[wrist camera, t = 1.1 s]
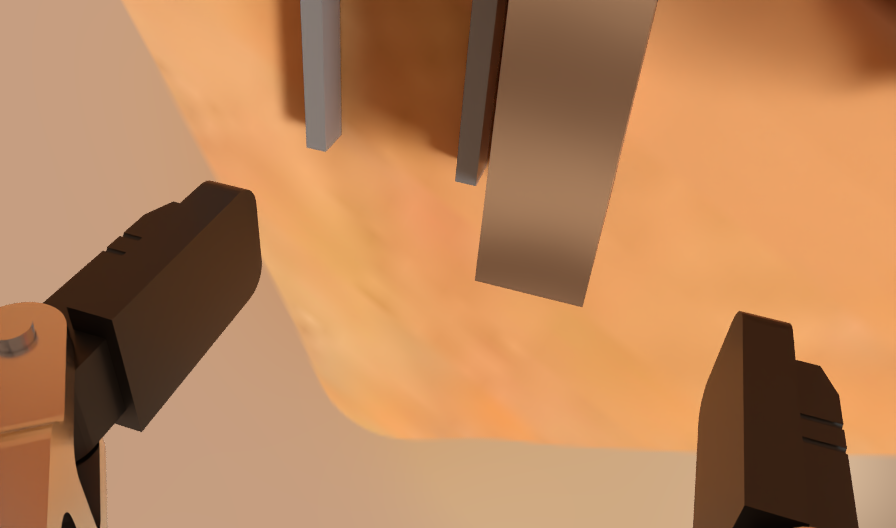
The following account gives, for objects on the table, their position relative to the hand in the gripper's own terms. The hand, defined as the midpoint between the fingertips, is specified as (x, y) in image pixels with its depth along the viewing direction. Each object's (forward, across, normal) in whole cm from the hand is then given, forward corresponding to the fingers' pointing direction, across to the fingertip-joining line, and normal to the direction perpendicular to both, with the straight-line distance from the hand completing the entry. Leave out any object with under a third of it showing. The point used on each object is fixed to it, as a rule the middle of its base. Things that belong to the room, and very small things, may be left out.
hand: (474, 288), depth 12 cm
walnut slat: (+16, 0, 0) cm, 16 cm away
